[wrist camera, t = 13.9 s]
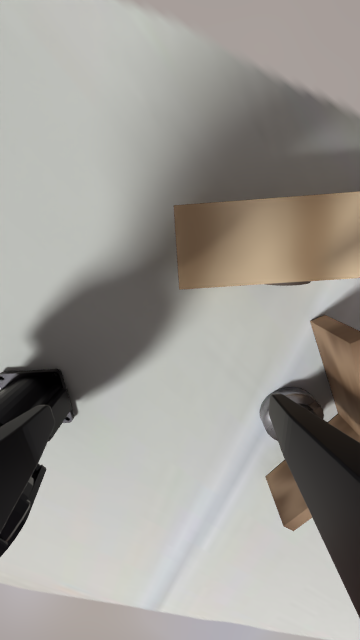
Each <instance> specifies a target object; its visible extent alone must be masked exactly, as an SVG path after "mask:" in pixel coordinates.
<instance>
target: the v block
mask: <svg viewBox="0 0 360 640" xmlns="http://www.w3.org/2000/svg"><path fill="white" fill-rule="evenodd" d="M310 322H311V325H312V329H313V332H314V335H315V339H316V342H317V345H318V349H319V352H320V355H321V358H322V362H323V365H324V368H325V372H326V375H327V378H328V381H329V385H330V388H331V391H332V395H333V398H334V401H335V404H336V408H337V411H338V414H337V415H336V416H335V417H334V418H333V419H331V420H330V421H329V422H328V423H329V424H331V425H332V426H334V427H336V428H337V429H339V430H340V431H342V432H343V433H345V434H347V435H348V436H350V437H351V438H353V439H355V440H356V441H358V442H359V443H360V331H358V330H356V329H354V328H352V327H350V326H348V325H345V324H343V323H341V322H339V321H337V320H335V319H333V318H330V317H328V316H326V315H324V316H321V317H319V318H316V319H314V320H312V321H310ZM266 480H267V482H268V485H269V488H270V490H271V493H272V496H273V499H274V501H275V504H276V507H277V509H278V512H279V515H280V518H281V520H282V523H283V526H284V527H286V528H288V529H290V530H293V531H294V530H296V529H297V528H298V527H300V526H301V525H302V524H304V523H305V522H307V521H308V520H309V519H311V518H312V516H311V513H310V511H309V509H308V507H307V505H306V503H305V501H304V499H303V496H302V494H301V492H300V490H299V488H298V486H297V484H296V482H295V479H294V477H293V475H292V473H291V471H290V469H289V467H288V464H287V462H286V460H284V461H283V462H282V463H281V464H280V465H279V466H277V467H276V468H275V469H274V470H273V471H272V472H270V473H269V474H268V475H267V476H266Z"/></svg>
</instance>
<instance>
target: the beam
mask: <svg viewBox="0 0 360 640" xmlns="http://www.w3.org/2000/svg"><path fill="white" fill-rule="evenodd" d="M174 217H175V232H176V247H177V262H178V277H179V289H194V288H210V287H225V286H241V285H257V284H267V285H284V286H285V285H302V284H308V283H310V282H311V281H319V280H334V279H350V278H360V192H346V193H333V194H320V195H307V196H293V197H280V198H267V199H253V200H240V201H227V202H213V203H200V204H187V205H174Z"/></svg>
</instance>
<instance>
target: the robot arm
mask: <svg viewBox="0 0 360 640" xmlns="http://www.w3.org/2000/svg"><path fill="white" fill-rule="evenodd" d="M54 373H55V374H57V375H55V374H54ZM3 377H4V378H3ZM0 388H1V390H0V557H1V556H2V555H3V553H4V552H5V551H6V550H7V549H8V547H9V546H10V545H11V544H12V542H13V541H14V540H15V538H16V537H17V535H18V534H19V532H20V531H21V529H22V527H23V525H24V524H25V522H26V520H27V518H28V515H29V513H30V510H31V508H32V505H33V503H34V500H35V497H36V495H37V492H38V490H39V487H40V484H41V482H42V479H43V477H44V474H45V472H46V468H45V467H44V466H43V465H39V464H38V462H39V460H40V458H41V455H42V453H43V451H44V449H45V446H46V444H47V442H48V441H50V440H51V438H52V437H53V436H54V434H55V433H56V431H57V430H58V428H59V427H60V425H61V424H62V423H69V422H71V421H72V420H73V418H74V415H73V411H72V406H71V402H70V399H69V395H68V392H67V389H66V387H65V383H64V379H63V376H62V373H61V371H60V370H58V369H50V370H32V371H14V372H2V373H0ZM269 416H270V419H271V422H272V425H273V428H274V430H275V433H276V436H277V439H278V442H279V445H280V447H281V450H282V453H283V456H284V458H285V460H286V462H287V464H288V467H289V469H290V471H291V473H292V475H293V477H294V479H295V482H296V484H297V486H298V488H299V490H300V492H301V494H302V496H303V499H304V501H305V503H306V505H307V507H308V509H309V511H310V513H311V516H312V518H313V520H314V522H315V524H316V526H317V528H318V530H319V533H320V535H321V537H322V539H323V541H324V543H325V545H326V547H327V550H328V552H329V554H330V556H331V558H332V560H333V562H334V564H335V567H336V569H337V571H338V573H339V575H340V577H341V579H342V581H343V584H344V586H345V588H346V590H347V592H348V594H349V596H350V598H351V601H352V603H353V605H354V607H355V609H356V611H357V613H358V615H359V618H360V443H359V442H358V441H356V440H355V439H353V438H351V437H350V436H348V435H347V434H345V433H343V432H342V431H340V430H339V429H337V428H336V427H334V426H332V425H331V424H329V423H328V422H326V421H324V420H323V419H321V418H320V417H318V416H316V415H315V414H313V413H312V412H310V411H309V410H307V409H305V408H304V407H302V406H301V405H299V404H297V403H296V402H294V401H293V400H291V399H289V398H288V397H286V396H285V395H283V394H280V393H279V394H271V395H270V401H269ZM68 417H69V418H68Z"/></svg>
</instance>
